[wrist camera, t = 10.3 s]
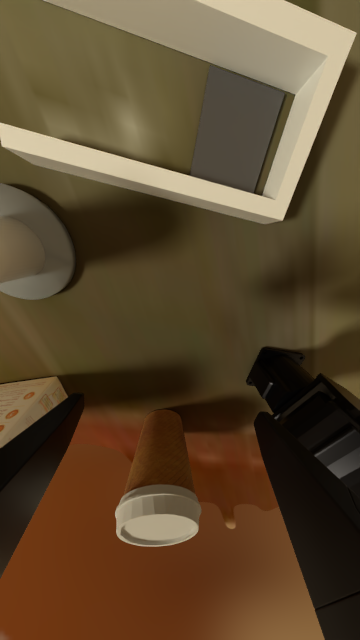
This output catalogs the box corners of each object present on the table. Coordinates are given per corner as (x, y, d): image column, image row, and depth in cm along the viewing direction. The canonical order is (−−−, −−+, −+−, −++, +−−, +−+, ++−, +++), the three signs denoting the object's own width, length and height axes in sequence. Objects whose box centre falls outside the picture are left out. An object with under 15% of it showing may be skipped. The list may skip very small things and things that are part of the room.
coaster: (73, 201, 15) (67, 199, 14) (77, 303, 19) (73, 306, 18) (-53, 171, 14) (-69, 166, 13) (-21, 287, 18) (-31, 289, 17)
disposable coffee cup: (138, 398, 26) (114, 510, 15) (197, 405, 27) (214, 513, 16) (131, 436, 30) (108, 547, 19) (183, 441, 31) (190, 548, 20)
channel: (317, 77, 13) (356, 32, 10) (264, 224, 17) (282, 220, 14) (10, -44, 10) (-49, -149, 7) (34, 164, 14) (1, 146, 11)
